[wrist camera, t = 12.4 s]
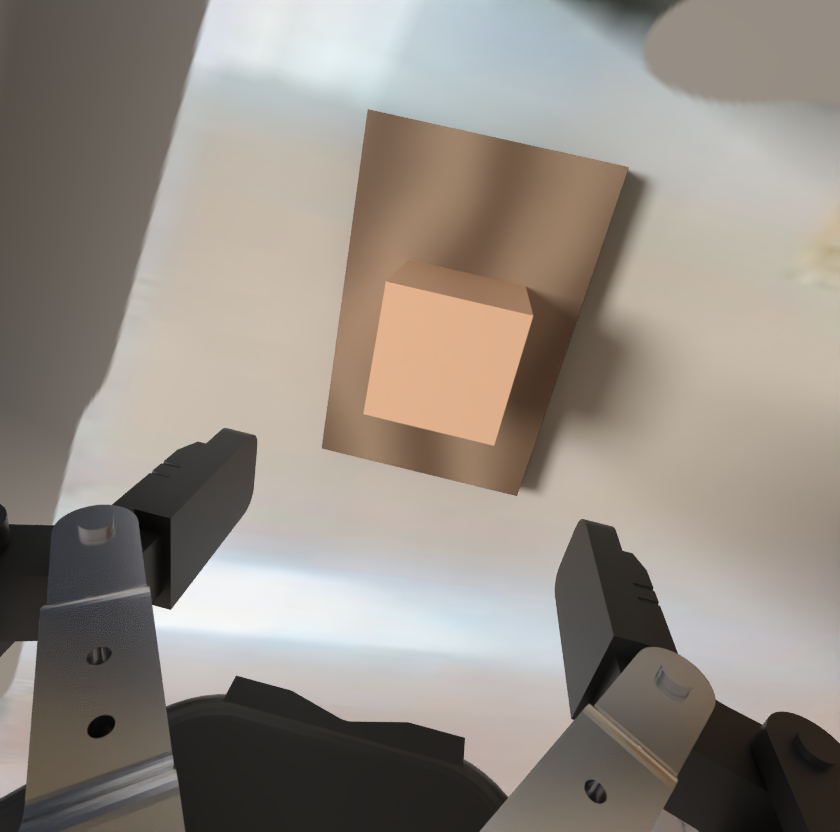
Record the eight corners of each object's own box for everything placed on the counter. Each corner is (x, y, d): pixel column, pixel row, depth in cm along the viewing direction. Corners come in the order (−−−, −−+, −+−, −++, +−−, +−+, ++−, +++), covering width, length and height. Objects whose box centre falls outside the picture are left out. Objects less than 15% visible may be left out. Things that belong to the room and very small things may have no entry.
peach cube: (525, 286, 26) (533, 315, 21) (494, 394, 29) (494, 445, 23) (408, 259, 26) (385, 281, 21) (388, 369, 29) (363, 414, 24)
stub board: (621, 167, 25) (649, 166, 20) (516, 482, 33) (519, 532, 28) (374, 112, 25) (348, 99, 21) (328, 436, 33) (302, 478, 29)
